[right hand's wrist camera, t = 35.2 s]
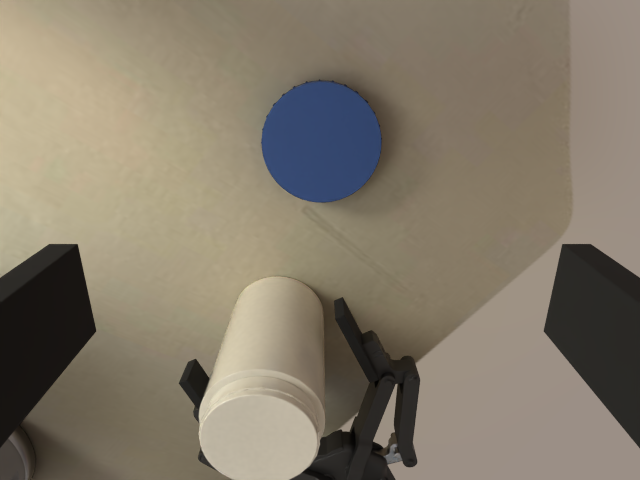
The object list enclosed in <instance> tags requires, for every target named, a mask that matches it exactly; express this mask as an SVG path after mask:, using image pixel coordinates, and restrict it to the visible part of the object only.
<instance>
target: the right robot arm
mask: <svg viewBox="0 0 640 480" xmlns="http://www.w3.org/2000/svg"><path fill="white" fill-rule="evenodd" d="M95 332H96V328H95V323H94V318H93V314H92V309H91V304H90V300H89V295H88V290H87V286H86V281H85V276H84V272H83V267H82V262H81V258H80V253H79V248H78V244H49V245H47V246H46V247H44V248H43V249H42V250H40V251H39V252H37V253H36V254H34V255H33V256H31V257H30V258H28V259H27V260H26V261H24V262H23V263H21V264H20V265H18V266H17V267H15V268H14V269H12V270H11V271H9V272H8V273H7V274H5V275H4V276H2V277H1V278H0V448H1V447H2V445H3V444H4V443H5V442H6V440H7V439H8V438H9V437H10V436H11V434H12V433H13V432H14V431H15V430H16V428H17V427H18V426H19V425H20V423H21V422H22V421H23V420H24V419H25V417H26V416H27V415H28V414H29V412H30V411H31V410H32V409H33V408H34V406H35V405H36V404H37V403H38V402H39V400H40V399H41V398H42V397H43V395H44V394H45V393H46V392H47V391H48V389H49V388H50V387H51V386H52V384H53V383H54V382H55V381H56V380H57V378H58V377H59V376H60V375H61V373H62V372H63V371H64V370H65V369H66V367H67V366H68V365H69V364H70V363H71V361H72V360H73V359H74V358H75V356H76V355H77V354H78V353H79V352H80V350H81V349H82V348H83V347H84V345H85V344H86V343H87V342H88V341H89V339H90V338H91V337H92V336H93V335H94V333H95ZM544 332H545V333H546V334H547V336H548V337H549V338H550V339H551V341H552V342H553V343H554V344H555V345H556V347H557V348H558V349H559V350H560V352H561V353H562V354H563V355H564V356H565V358H566V359H567V360H568V361H569V363H570V364H571V365H572V366H573V367H574V369H575V370H576V371H577V372H578V373H579V375H580V376H581V377H582V378H583V380H584V381H585V382H586V383H587V384H588V386H589V387H590V388H591V389H592V391H593V392H594V393H595V394H596V395H597V397H598V398H599V399H600V400H601V401H602V403H603V404H604V405H605V406H606V408H607V409H608V410H609V411H610V412H611V414H612V415H613V416H614V417H615V419H616V420H617V421H618V422H619V423H620V425H621V426H622V427H623V428H624V429H625V431H626V432H627V433H628V434H629V436H630V437H631V438H632V439H633V440H634V442H635V443H636V444H637V445H638V447H639V448H640V278H639V277H638V276H636V275H635V274H633V273H632V272H631V271H629V270H628V269H626V268H625V267H623V266H622V265H620V264H619V263H617V262H616V261H614V260H613V259H612V258H610V257H609V256H607V255H606V254H604V253H603V252H601V251H600V250H598V249H597V248H595V247H594V246H593V245H591V244H563V245H562V248H561V253H560V258H559V262H558V267H557V272H556V276H555V281H554V286H553V290H552V295H551V300H550V304H549V309H548V314H547V318H546V323H545V328H544Z"/></svg>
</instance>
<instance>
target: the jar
mask: <svg viewBox="0 0 640 480" xmlns="http://www.w3.org/2000/svg"><path fill="white" fill-rule="evenodd" d="M199 423H200V428H199V439H200V445H201V449H202V451H203V454H204V456H205V457H206V459H207V460H208V462H209V463H210V464H211V465H212V466H213V467H214V468H215V469H216V470H217V471H219V472H220V473H222V474H223V475H225V476H227V477H229V478H231V479H233V480H289V479H292V478H294V477H295V476H297V475H299V474H301V473H302V472H303V471H304V470H305V469H306V468H308V467H309V466H310V465H311V463H312V462H313V460H314V459H315V457H317V453H318V450H319V446H320V439H321V437H322V435H323V432H324V428H325V362H324V313H323V308H322V304H321V302H320V300H319V298H318V297H317V295H316V294H315V293H314V292H313V291H312V290H311V289H310V288H309V287H308V286H306V285H305V284H304V283H302V282H300V281H298V280H295V279H292V278H288V277H282V276H274V277H267V278H263V279H260V280H257V281H255V282H253V283H252V284H250V285H249V286H247V287H246V288H245V289H244V290H243V291H242V293H241V294H240V295H239V297H238V299H237V301H236V303H235V306H234V309H233V312H232V315H231V318H230V321H229V324H228V326H227V329H226V332H225V335H224V338H223V341H222V344H221V347H220V350H219V353H218V355H217V358H216V361H215V364H214V367H213V370H212V373H211V376H210V379H209V381H208V384H207V387H206V390H205V393H204V396H203V399H202V402H201V405H200V409H199Z"/></svg>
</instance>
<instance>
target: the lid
mask: <svg viewBox="0 0 640 480" xmlns="http://www.w3.org/2000/svg"><path fill="white" fill-rule="evenodd" d="M266 118H267V119H266V121H265V124H264V128H263V129H262V130H263V132H262V142H261V143H262V151H263V157H264V160H265V163H266V166H267V168H268V170H269V172H270V173H271V175H272V177H273V178H274V179H275V181H276V182H277V183H278V184H279V185H280V186H281V187H282V188H283V189H285V190H286V191H287V192H289V193H290V194H292V195H294V196H296V197H298V198H300V199H303V200H307V201H312V202H332V201H336V200H340V199H342V198H345V197H347V196H349V195H351V194H353V193H354V192H356V191H357V190H359V189H360V188H361V187H362V186H363V185H364V184H365V183H366V182H367V181H368V179H369V178H370V177H371V175H372V174H373V172H374V170H375V168H376V166H377V163H378V160H379V157H380V153H381V140H382V138H381V132H380V125H379V124H378V121H377V118H376V116H375V112H374V111H373V110H372V109H371V107H370V106H369V105H368V102H367V101H366V100H364V99H363V98H362V97H361V96H360V95H359V94H358V92H357V91H356V92H355V91H353V90H352V89H350V88H349V87H347V86H346V85H342V84H339V83H336V82H334V81H332V82H331V81H320V80H319V81H311V82H306V83H304V84H301V85H299V86H296V87H295V86H294V87H293V89H291V90H290V91H288V92H287V93H286V94H283V95H282V97H281V98H280V99H279V100H278V101H277V102H276V103H275V104H274V105H273V108H272V109H271V111H270V113H269V114H268V115H267V116H266Z"/></svg>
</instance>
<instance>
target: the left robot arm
mask: <svg viewBox="0 0 640 480" xmlns="http://www.w3.org/2000/svg"><path fill="white" fill-rule="evenodd" d="M334 305H335V319H336V321H337V323H338V325H339V327H340V329H341V330H342V332H343V334H344V336H345V338H346V340H347V341H348V343H349V345H350V347H351V349H352V351H353V353H354V354H355V356H356V358H357V360H358V362H359V364H360V366H361V367H362V369H363V371H364V373H365V375H366V377H367V379H368V380H369V382H370V383H369V386H368V389H367V392H366V394H365V397H364V400H363V402H362V405H361V408H360V410H359V413H358V416H357V417H355V419H354V421H353V424H352V427H351V429H350V432H342V430H338V431H335V432H333V433H331V434H330V435H328V436H327V437H321V439H320V446H319V450H318V453H317V457H315V459H314V460H313V462H312V463H311V465H310V466H309V467H308V468H306V469H305V470H304V471H303V472H302V473H301V474H299V475H297V476H295V477H294V478H292V479H289V480H395V478H394V476H393V474H392V473H391V471H390V469H389V467H388V466H387V464H391V463H395V462H399V461H403V464H404V465H405V466H406V467H413V466H415V465H416V464H417V458H416V454H415V450H414V446H413V435H414V427H415V418H416V410H417V402H418V393H419V385H420V378H419V374H418V371H417V368H416V365H415V361H414V359H413V358H412V357H411V356H404V357H402V358H401V360H391V359H390V355H389V354H388V353H386V352H385V350H384V348H383V346H382V344H381V342H380V340H379V338H378V337H377V335H376V334H375V333H374V332H373V331H372V330H371V331H369V332H366V333H364V334H362V333H361V331H360V329H359V327H358V325H357V323H356V322H355V320H354V318H353V316H352V314H351V312H350V310H349V308H348V306H347V304H346V302H345V300H344V299H343V297H342V298H340V299H338V300H335V301H334ZM208 381H209V377H208V376H207V374H206V373H205V371H204V370H203V368H202V367H201V366H200V364H199V363H198V361H197V360H196V359H194V360H192V361H189V362H188V364H187V366H186V368H185V370H184V373H183V375H182V377H181V380H180V382H179V384H180V385H181V387H182V388H183V390H184V391H185V392H186V394H187V395H188V396H189V398H190V399H191V400H192V402H193V403H194V405H195V408H194V411H193V413H194V417H195V418H196V420H197V421H198V422H199V409H200V405H201V402H202V399H203V396H204V393H205V390H206V387H207V384H208ZM395 384H398V386H397V396H396V407H395V417H394V429H395V432H394V433H392V434H391V438H390V439H389V444H388V446H387V447H386V448H383V447H382V446H381V445H379V444H377V443H375V442H373V439H374V437H375V434H376V432H377V429H378V427H379V424H380V422H381V419H382V416H383V414H384V412H385V409H386V406H387V404H388V402H389V399H390V397H391V394H392V391H393V389H394V386H395ZM199 424H200V423H199ZM198 459H199V461H200V462H202V463H203V464H205V465H207V466H209V467H211V468H213V469H215V468H214V467H213V466H212V465H211V464H210V463H209V462H208V460H207V459H206V457H205V456H204V454H203V451H202V449H200V452H199V456H198ZM35 463H36V461H35V453H34V449H33V446H32V444H31V442H30V440H29V438H28V437H27V435H26V434H25V432H24V431H23V430H22V429H21V427H20V426H18V427H17V428H16V430H15V431H14V432H13V433H12V434H11V436H10V437H9V438H8V439H7V440H6V442H5V443H4V444H3V445H2V447H1V448H0V480H30V479H31V478H32V476H33V473H34V470H35ZM215 470H216V469H215ZM216 471H217V470H216ZM218 472H219V471H218Z"/></svg>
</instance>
